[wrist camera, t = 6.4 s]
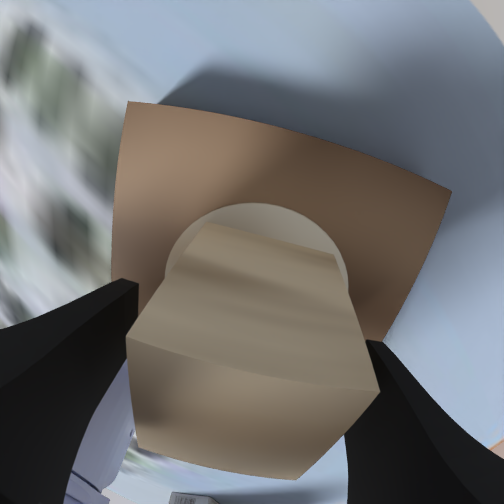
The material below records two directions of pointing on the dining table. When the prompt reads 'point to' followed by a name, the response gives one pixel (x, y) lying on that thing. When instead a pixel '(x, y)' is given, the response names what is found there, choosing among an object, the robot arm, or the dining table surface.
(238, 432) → the maple block
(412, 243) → the walnut base
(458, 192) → the dining table surface
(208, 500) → the coffee box
